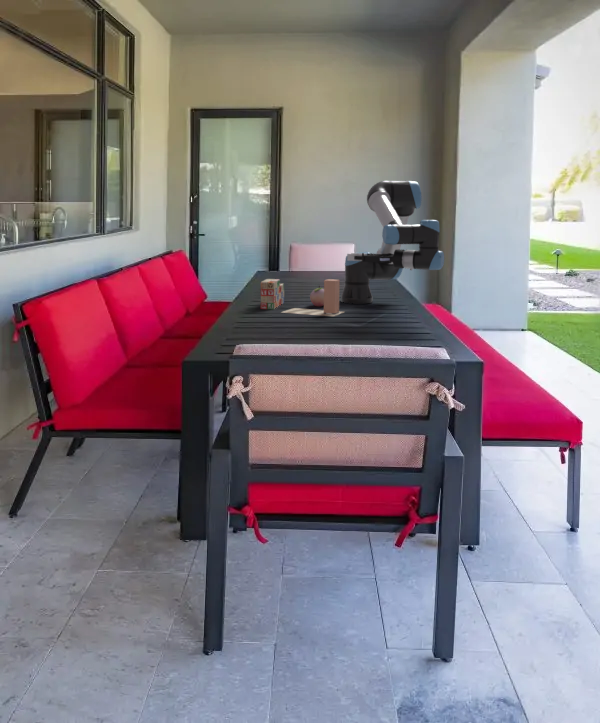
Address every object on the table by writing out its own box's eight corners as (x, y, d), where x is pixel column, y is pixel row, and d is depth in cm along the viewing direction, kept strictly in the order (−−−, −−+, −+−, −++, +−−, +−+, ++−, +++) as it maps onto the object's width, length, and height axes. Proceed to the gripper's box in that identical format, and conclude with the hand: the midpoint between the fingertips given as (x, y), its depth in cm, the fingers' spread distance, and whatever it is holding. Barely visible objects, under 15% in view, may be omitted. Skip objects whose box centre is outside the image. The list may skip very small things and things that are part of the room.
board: (345, 314, 327) (345, 311, 327) (333, 318, 315) (333, 316, 314) (294, 310, 336) (294, 308, 336) (280, 314, 324) (280, 312, 324)
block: (338, 312, 324) (339, 279, 321) (334, 314, 320) (335, 280, 317) (327, 311, 326) (328, 279, 323) (323, 313, 322) (324, 280, 319)
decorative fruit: (326, 309, 339) (327, 287, 337) (308, 309, 340) (308, 286, 338) (330, 306, 348) (330, 284, 346) (312, 306, 349) (312, 284, 347)
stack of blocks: (271, 302, 360) (271, 276, 358) (284, 303, 359) (284, 277, 356) (260, 309, 340) (260, 281, 337) (274, 309, 339) (274, 282, 336)
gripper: (398, 270, 299) (342, 267, 308) (409, 266, 314) (355, 264, 323) (399, 251, 297) (342, 248, 306) (410, 248, 312) (356, 246, 321)
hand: (349, 256), depth 315 cm, fingers open, 4 cm apart
